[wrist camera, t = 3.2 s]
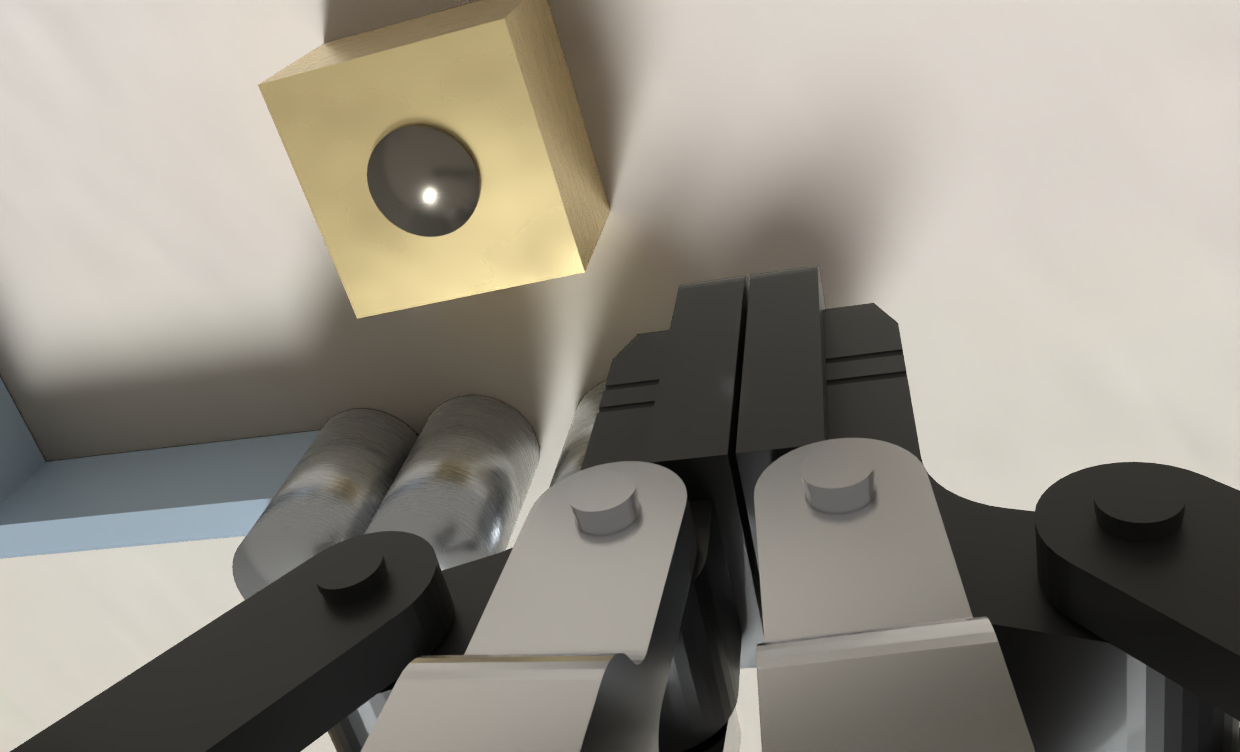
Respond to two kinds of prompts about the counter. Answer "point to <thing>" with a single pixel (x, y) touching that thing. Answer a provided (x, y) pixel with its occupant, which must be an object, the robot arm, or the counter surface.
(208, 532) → the parts bay
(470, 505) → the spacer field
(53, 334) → the counter surface
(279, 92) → the yellow knobbed block
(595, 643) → the robot arm
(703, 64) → the counter surface
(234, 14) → the counter surface
